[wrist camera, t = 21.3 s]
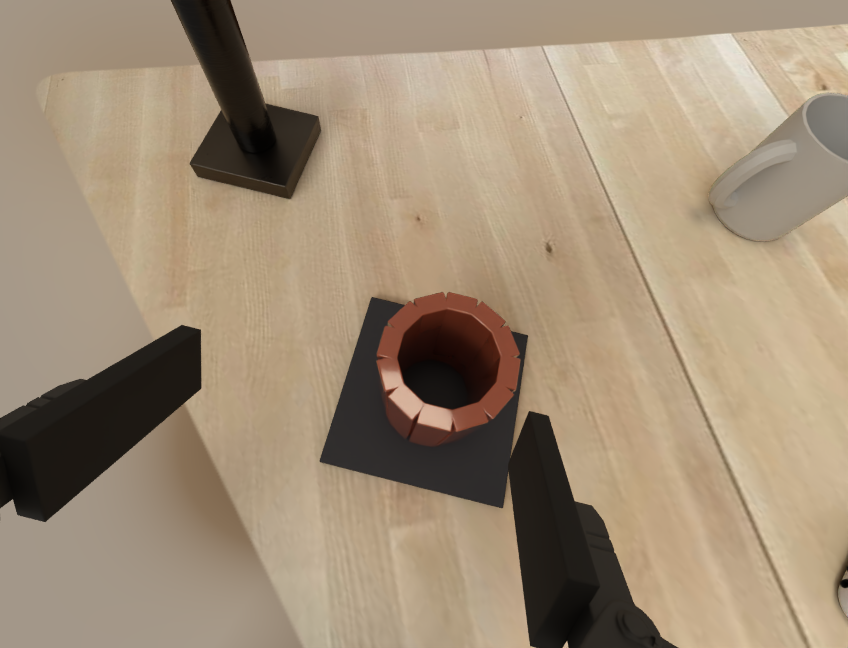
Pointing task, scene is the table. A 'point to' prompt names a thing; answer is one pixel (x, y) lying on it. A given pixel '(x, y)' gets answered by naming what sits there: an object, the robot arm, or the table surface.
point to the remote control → (844, 593)
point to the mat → (398, 457)
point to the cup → (788, 173)
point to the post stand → (243, 109)
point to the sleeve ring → (459, 347)
